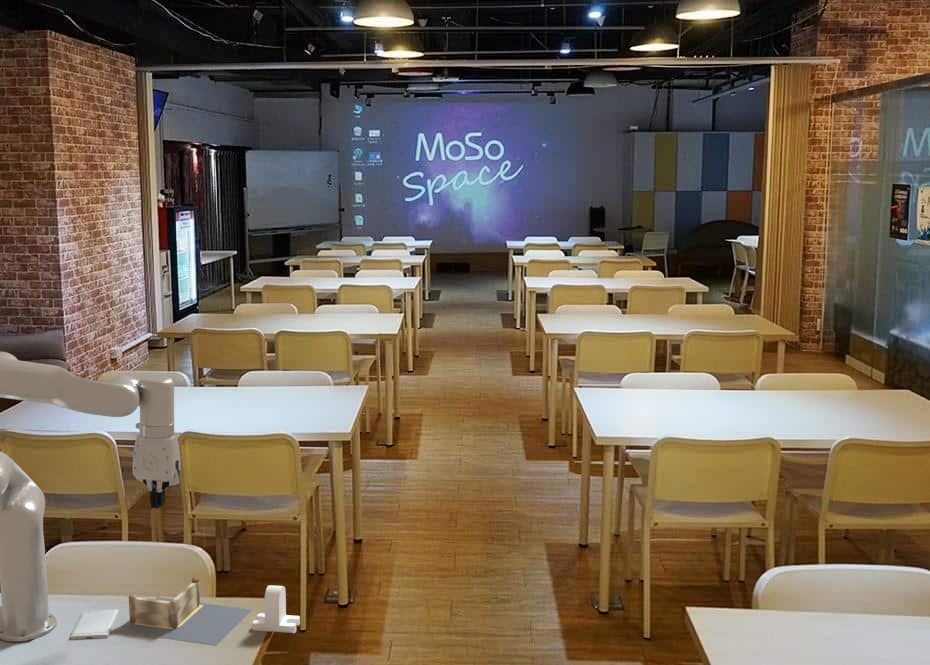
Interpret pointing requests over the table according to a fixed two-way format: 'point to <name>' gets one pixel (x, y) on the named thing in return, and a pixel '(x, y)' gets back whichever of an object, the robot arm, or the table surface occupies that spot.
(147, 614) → the fence fixed section
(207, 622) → the card
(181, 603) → the fence swing panel
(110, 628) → the hard drive
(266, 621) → the cable organizer
